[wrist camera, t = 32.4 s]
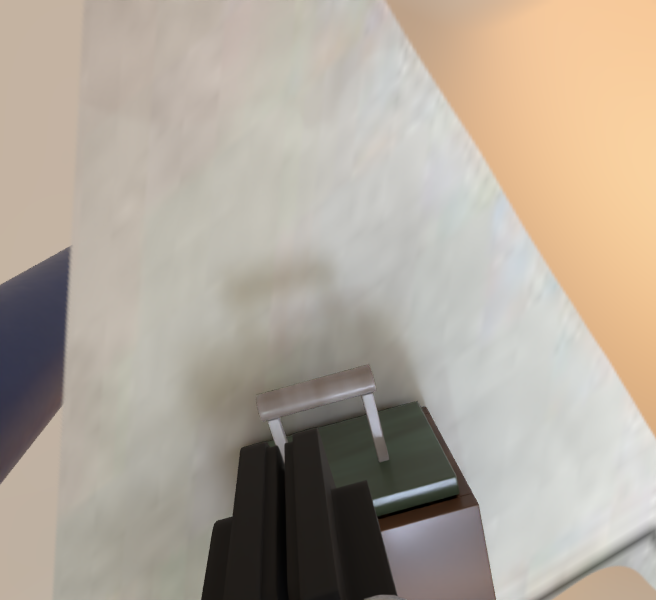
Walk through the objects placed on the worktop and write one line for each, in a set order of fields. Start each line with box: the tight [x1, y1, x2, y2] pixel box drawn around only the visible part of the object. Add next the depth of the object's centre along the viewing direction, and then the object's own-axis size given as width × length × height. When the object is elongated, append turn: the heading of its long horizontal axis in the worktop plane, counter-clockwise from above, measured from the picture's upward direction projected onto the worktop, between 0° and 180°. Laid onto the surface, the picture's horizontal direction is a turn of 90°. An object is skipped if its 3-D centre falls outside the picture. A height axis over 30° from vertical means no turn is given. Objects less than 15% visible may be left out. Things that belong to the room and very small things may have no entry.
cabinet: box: [378, 407, 496, 600], centre depth 31 cm, size 15×13×9 cm
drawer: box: [256, 364, 460, 517], centre depth 29 cm, size 19×11×7 cm, turn 14°
